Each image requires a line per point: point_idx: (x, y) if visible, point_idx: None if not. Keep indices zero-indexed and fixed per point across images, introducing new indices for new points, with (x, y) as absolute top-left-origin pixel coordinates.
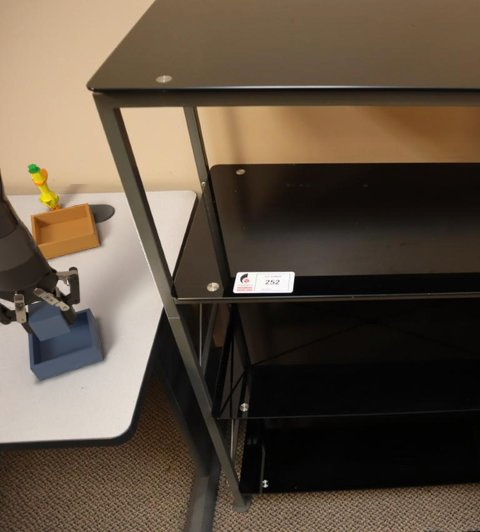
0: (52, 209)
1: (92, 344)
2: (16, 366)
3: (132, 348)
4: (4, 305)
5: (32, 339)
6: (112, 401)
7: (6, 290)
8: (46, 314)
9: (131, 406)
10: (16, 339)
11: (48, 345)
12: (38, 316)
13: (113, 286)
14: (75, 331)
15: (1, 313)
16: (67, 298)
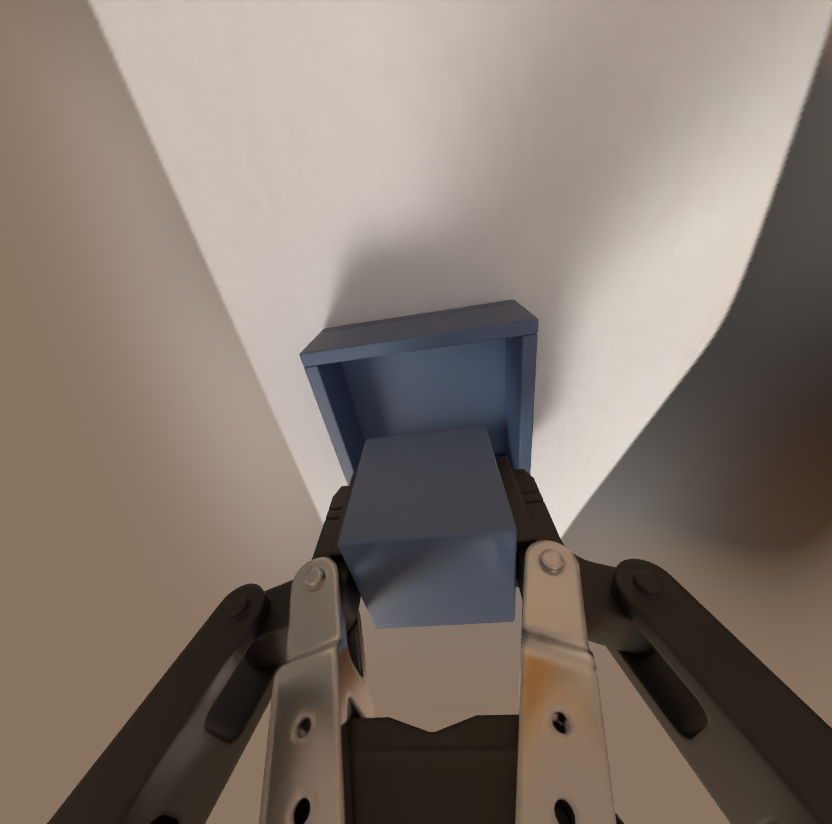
0: None
1: None
2: (298, 414)
3: (589, 439)
4: (220, 665)
5: (336, 421)
6: None
7: None
8: (448, 606)
9: None
10: (258, 311)
11: (370, 380)
12: (411, 608)
13: (632, 51)
14: (448, 347)
15: (245, 742)
16: (593, 628)
